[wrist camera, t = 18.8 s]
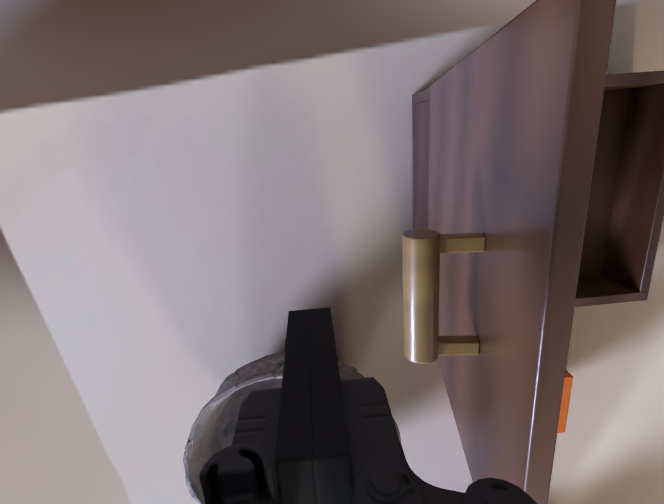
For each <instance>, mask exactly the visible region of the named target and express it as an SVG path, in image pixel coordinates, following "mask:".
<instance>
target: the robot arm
mask: <svg viewBox="0 0 664 504" xmlns="http://www.w3.org/2000/svg"><path fill="white" fill-rule="evenodd" d="M199 477H200V482H201V486H202V491H203V495H204V499H205V504H537V503H536V502H535V501H534V499H533V498H532V497H531V496H529V495H528V494H527V493H526V492H525V491H523V490H522V489H521V488H520V487H518V486H516V485H514V484H512V483H510V482H508V481H506V480H502V479H497V478H491V477H490V478H484V479H478V480H477V481H475V482H474V483H472V484H471V485H469V486H468V489H467V491H466V493H461V492H456V491H451V490H446V489H442V488H438V487H435V486H432V485H430V484H428V483H426V482H424V481H423V480H421V479H420V478H419V477H418V476H417V475H415V474H414V472H413V471H412V470H411V469H410V467H409V465H408V463H407V461H406V459H405V455H404V452H403V449H402V446H401V442H400V439H399V436H398V433H397V430H396V426H395V423H394V420H393V417H392V415H391V410H390V407H389V404H388V401H387V397H386V394H385V391H384V388H383V387H382V386H381V385H380V384H379V383H378V382H377V381H376V380H375V379H374V378H373V377H371V378H361V379H351V380H341V381H340V374H339V367H338V360H337V353H336V346H335V339H334V332H333V325H332V318H331V311H330V308H319V309H308V310H297V311H289V315H288V325H287V336H286V346H285V357H284V368H283V378H282V388H274V389H264V390H254V391H251V392H250V393H249V395H248V396H247V397H246V398H245V400H244V401H243V402H242V404H241V407H240V411H239V416H238V421H237V424H236V428H235V434H234V436H233V441H232V445H231V446H228V447H226V448H224V449H222V450H220V451H219V452H217V453H215V454H214V455H213V456H212V457H211V458H210V459H209V460H208V461H207V462H206V463H205V464H204V466H203V468H202V470H201V472H200V474H199Z"/></svg>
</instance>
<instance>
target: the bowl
mask: <svg viewBox="0 0 664 504" xmlns="http://www.w3.org/2000/svg"><path fill="white" fill-rule="evenodd" d="M284 357H285V352H283V353H282V354H281V353H276V354H272V355H267V356H265V357H262V358H260V359H258V360H256V361H253V362H251V363H249V364H246V365H245V366H243V367H241V368H239V369H237V370H236V372H235V373H232V374H231V375H229V376H228V377H227V378H226V379H225V380H224V381H223V383H222V384H221V385H220V387H219V389H218V391H217V393H216V395H215V396H214V397H213V398H212V399H211V400H210V401H209V402H208V403H207V404H206V405H205V406H204V407H203V409H202V410H201V412H200V414H199V415H198V417H197V419H196V420H195V422H194V424H193V426H192V428H191V432H190V435H189V439H188V441H187V444H186V446H185V452H184V458H183V462H184V468H185V474H186V483H187V487H188V489H189V491H190V494H191V496H192V497H193V498H194V499H195V501H196V502H197V503H198V504H205V499H204V495H203V491H202V486H201V482H200V477H199V474H200V472H201V470H202V468H203V466H204V464H205V463H206V462H207V461H208V460H209V459H210V458H211V457H212V456H213V455H214V454H215V453H217V452H219V451H220V450H222V449H224V448H226V447H228V446H231V445H232V441H233V436H234V434H235V428H236V424H237V421H238V416H239V411H240V407H241V404H242V402H243V401H244V400H245V398H246V397H247V396H248V395H249V393H250V392H251V391H254V390H264V389H274V388H282V378H283V368H284ZM338 367H339V374H340V381H341V380H351V379H361V378H364V377H363V376H362V375H361V374H360V373H358V372H357V370H356V369H355V368H353V367H351V366H348V365H347V364H345V363H342V362H339V361H338ZM393 420H394V419H393ZM394 423H395V426H396V430H397V433H398V436H399V439H400V442H401V438H400V433H399V429H398V427H397V424H396V422H395V420H394Z"/></svg>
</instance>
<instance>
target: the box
mask: <svg viewBox="0 0 664 504" xmlns="http://www.w3.org/2000/svg"><path fill="white" fill-rule="evenodd" d="M412 121H413V229H428V198H429V88H428V89H425V90H423V91H420V92H418V93H415V94H413V95H412ZM663 216H664V71H654V72H640V73H625V74H610V75H606V78H605V86H604V93H603V100H602V108H601V115H600V122H599V130H598V137H597V144H596V152H595V159H594V166H593V174H592V181H591V188H590V196H589V203H588V210H587V217H586V225H585V232H584V239H583V247H582V254H581V261H580V269H579V276H578V283H577V291H576V298H575V305H574V307H580V306H590V305H600V304H611V303H621V302H631V301H641V300H647V297H648V291H649V286H650V281H651V276H652V271H653V266H654V261H655V256H656V251H657V246H658V241H659V236H660V231H661V226H662V221H663Z"/></svg>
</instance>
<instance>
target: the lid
mask: <svg viewBox="0 0 664 504" xmlns="http://www.w3.org/2000/svg"><path fill="white" fill-rule="evenodd" d="M615 5H616V0H536V1H535V2H534V3H533V4H531V5H530V6H529V7H528V8H527V9H525V10H524V11H523V12H521V13H520V14H519V15H518V16H516V17H515V18H514V19H513V20H511V21H510V22H509V23H508V24H507V25H505V26H504V27H503V28H502V29H500V30H499V31H498V32H497V33H495V34H494V35H493V36H492V37H490V38H489V39H488V40H487V41H485V42H484V43H483V44H482V45H480V46H479V47H478V48H477V49H475V50H474V51H473V52H472V53H471V54H469V55H468V56H467V57H466V58H464V59H463V60H462V61H461V62H459V63H458V64H457V65H456V66H454V67H453V68H452V69H451V70H449V71H448V72H447V73H446V74H444V75H443V76H442V77H441V78H439V79H438V80H437V81H436V82H435V83H433V84H432V85H431V86H430V87H429V198H428V229H413V230H408V231H405V232H404V233H403V234H402V256H403V327H404V355H405V357H406V358H407V359H408V360H410V361H412V362H414V363H419V364H427V363H431V362H433V361H435V360H436V359H437V358H438V361H439V365H440V368H441V372H442V375H443V379H444V382H445V386H446V389H447V393H448V396H449V400H450V403H451V407H452V410H453V414H454V417H455V421H456V424H457V428H458V431H459V435H460V438H461V442H462V445H463V449H464V452H465V456H466V459H467V463H468V466H469V470H470V473H471V477H472V480H473V483H474V482H475V481H477V480H478V479H484V478H490V477H491V478H497V479H502V480H506V481H508V482H510V483H512V484H514V485H516V486H518V487H520V488H521V489H522V490H523V491H525V492H526V493H527V494H528V495H529V496H531V497H532V498H533V499H534V501H535V502H536V503H537V504H547V503H548V496H549V488H550V481H551V474H552V466H553V459H554V452H555V444H556V437H557V430H558V422H559V415H560V408H561V400H562V393H563V386H564V378H565V371H566V364H567V357H568V349H569V342H570V335H571V327H572V320H573V313H574V305H575V298H576V291H577V283H578V276H579V269H580V261H581V254H582V247H583V239H584V232H585V225H586V217H587V210H588V203H589V196H590V188H591V181H592V174H593V166H594V159H595V152H596V144H597V137H598V130H599V122H600V115H601V108H602V100H603V93H604V86H605V78H606V71H607V64H608V56H609V49H610V42H611V35H612V27H613V20H614V13H615Z"/></svg>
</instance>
